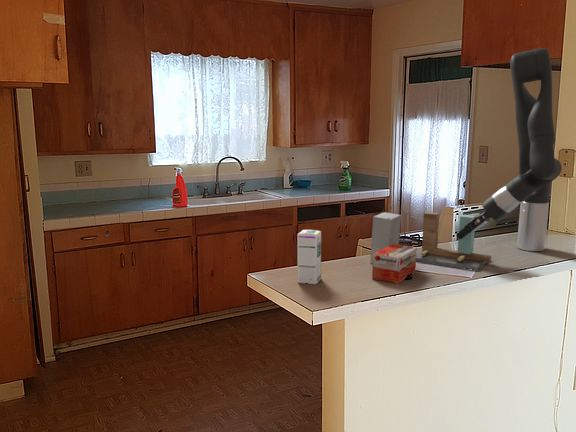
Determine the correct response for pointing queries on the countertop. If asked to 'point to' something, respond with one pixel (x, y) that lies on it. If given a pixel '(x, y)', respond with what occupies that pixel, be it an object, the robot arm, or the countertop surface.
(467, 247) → the block
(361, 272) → the countertop surface
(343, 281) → the countertop surface
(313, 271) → the syrup box
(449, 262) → the flange plate
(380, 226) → the skincare box
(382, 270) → the medicine box
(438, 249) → the wooden l-shaped stand
